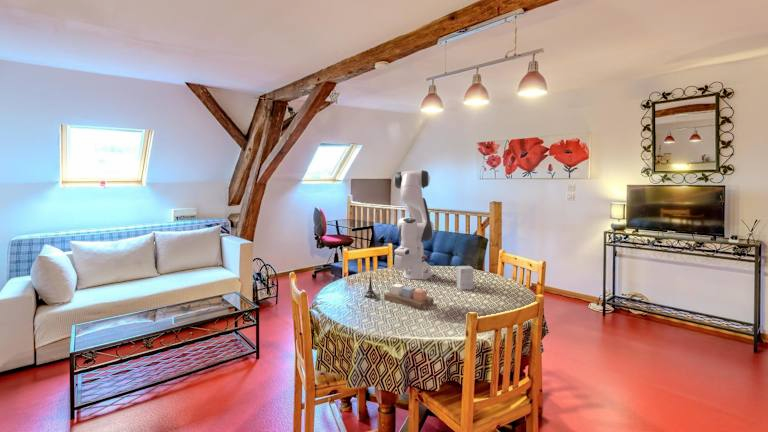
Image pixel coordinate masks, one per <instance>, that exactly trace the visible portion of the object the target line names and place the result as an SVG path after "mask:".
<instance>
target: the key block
mask: <svg viewBox="0 0 768 432" xmlns="http://www.w3.org/2000/svg"><path fill="white" fill-rule="evenodd" d="M383 296H384V298H383V299H384V300H385V301H389V302H391V303H392V302H393V303H395V304H398V305H401V306H405V307H410V308H412V309H417V310H419V311H421V310H424V309H425V308H427V307H429V306H431V305H434V297H431V296H427V300H425V301H423V302H420V301H416V300H413V298H411V299H408V298H405V297H402V295H399V296H397V295H394V294H391V291H389V292H386V293H384V295H383Z"/></svg>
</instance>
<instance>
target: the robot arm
mask: <svg viewBox="0 0 768 432" xmlns="http://www.w3.org/2000/svg"><path fill="white" fill-rule="evenodd" d="M430 183H431V177H430V174H429V172H428V171H427V170H423V169H422V170H417V169H416V170H412V169H411V170H406V171H398V172H396V173H395V174H394V176H393V184H394V186H395V188H396V189H400V200H401V201H402V202H403V203H404V204H405V210H406V211H407V212H408V213H409V214H410V215H411V217H410V216H407V217H401V218H399V219H398V221H397V224H396V225H397V230H398V237H399V238H400V239H401V241H400V245H399V247H397V248H395V249H394V254H395V255H394V263H393V264H394V265H393V266H394V269H396V270H403V269H404V270H403V272H402V276H403V278H405V279H408V280H428V279H429V278H431V277H432V276H434V275H435V272H434V271H432V268H431V265H430V264H429V263H428V262H427V261H426V260H425V259H427V258H428V256H427V255H425V254H424V244H423V242H429V241H430V240H431V239H432V238H433V235H434V228H435V226H434V223H433V221H432V220H431V217H430V213H429V208H428V204H427V201H426V198H424V197H423V190H422V189H425V188H426V187H428V186H429V185H430Z"/></svg>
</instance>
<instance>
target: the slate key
mask: <svg viewBox="0 0 768 432" xmlns="http://www.w3.org/2000/svg"><path fill="white" fill-rule="evenodd" d="M415 290H416V288H415V287H413V286H409V285H407V286H404V288H402V297H405V298H408V299H411V298H413V294H414V291H415Z"/></svg>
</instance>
